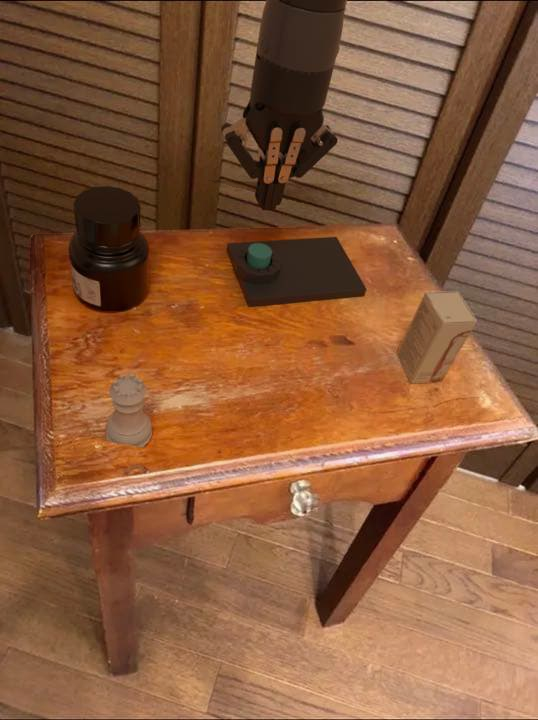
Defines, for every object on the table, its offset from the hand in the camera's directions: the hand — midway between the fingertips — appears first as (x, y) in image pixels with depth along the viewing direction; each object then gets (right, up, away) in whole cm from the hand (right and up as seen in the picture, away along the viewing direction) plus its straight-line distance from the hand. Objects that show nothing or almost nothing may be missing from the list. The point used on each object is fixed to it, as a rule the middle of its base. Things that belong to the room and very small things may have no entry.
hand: (266, 206), depth 68 cm
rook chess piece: (-13, -25, -10) cm, 30 cm away
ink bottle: (-19, -9, +3) cm, 21 cm away
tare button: (-1, -5, +7) cm, 8 cm away
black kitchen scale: (+4, -6, +10) cm, 13 cm away
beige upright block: (+18, -19, +3) cm, 26 cm away
